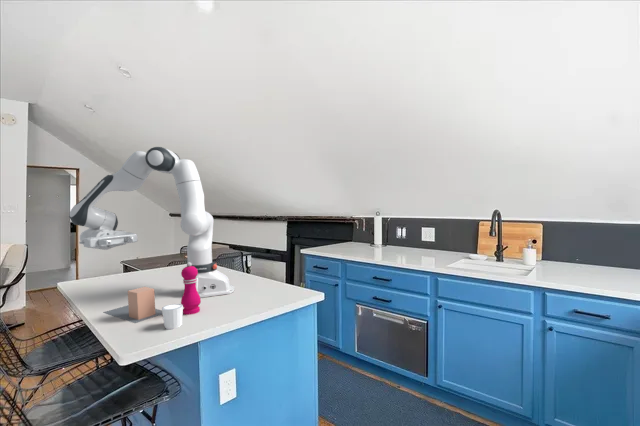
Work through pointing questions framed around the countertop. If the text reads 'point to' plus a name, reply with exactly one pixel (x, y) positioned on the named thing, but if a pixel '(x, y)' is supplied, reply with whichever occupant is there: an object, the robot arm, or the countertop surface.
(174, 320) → the white cup
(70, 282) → the countertop surface
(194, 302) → the pepper mill
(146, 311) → the tan rectangular block
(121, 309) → the mat
